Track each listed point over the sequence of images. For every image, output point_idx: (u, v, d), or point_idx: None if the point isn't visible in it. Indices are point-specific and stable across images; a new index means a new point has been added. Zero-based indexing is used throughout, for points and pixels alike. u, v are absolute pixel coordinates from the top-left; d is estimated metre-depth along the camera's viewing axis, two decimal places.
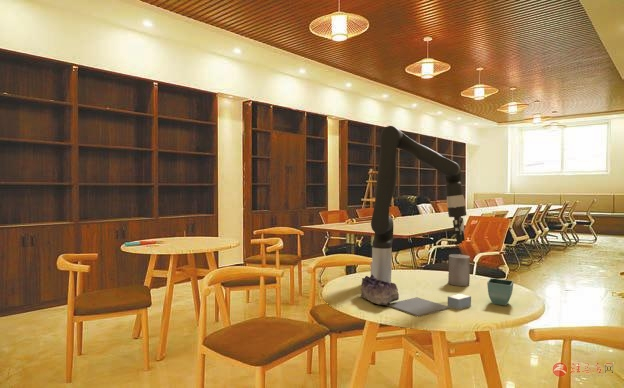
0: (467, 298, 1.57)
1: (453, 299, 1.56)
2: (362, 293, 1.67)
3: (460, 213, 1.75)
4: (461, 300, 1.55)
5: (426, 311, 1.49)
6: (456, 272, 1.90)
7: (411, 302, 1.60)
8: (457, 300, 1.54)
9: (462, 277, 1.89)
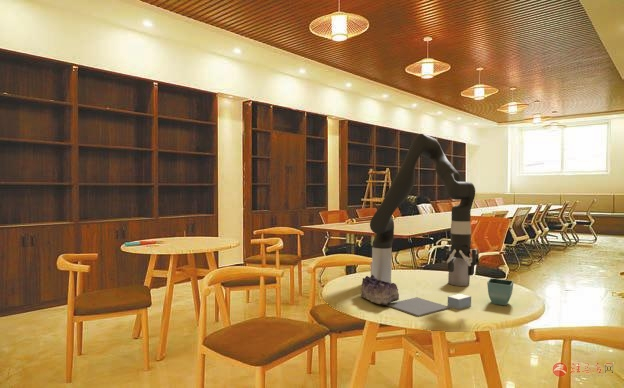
0: (467, 298, 1.57)
1: (453, 299, 1.56)
2: (362, 293, 1.67)
3: None
4: (461, 300, 1.55)
5: (426, 311, 1.49)
6: (456, 272, 1.90)
7: (411, 302, 1.60)
8: (457, 300, 1.54)
9: (462, 277, 1.89)
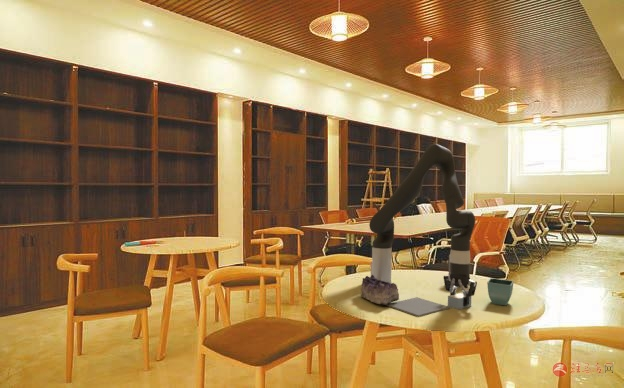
0: None
1: (453, 298, 1.56)
2: (362, 293, 1.67)
3: None
4: (461, 300, 1.55)
5: (426, 311, 1.49)
6: None
7: (411, 302, 1.60)
8: (457, 300, 1.54)
9: None
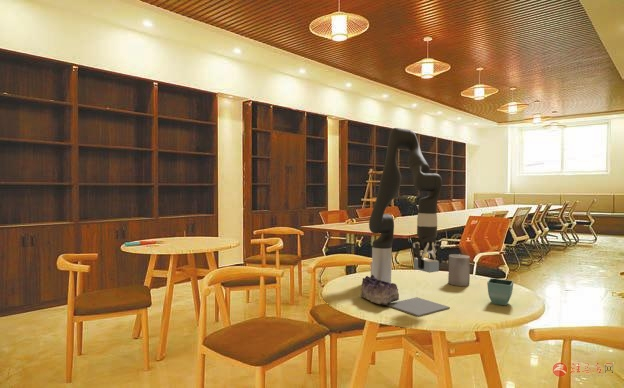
0: None
1: (434, 262, 1.53)
2: (362, 293, 1.67)
3: (424, 234, 1.53)
4: None
5: (426, 311, 1.49)
6: (456, 272, 1.90)
7: (411, 302, 1.60)
8: (437, 262, 1.54)
9: (462, 277, 1.89)
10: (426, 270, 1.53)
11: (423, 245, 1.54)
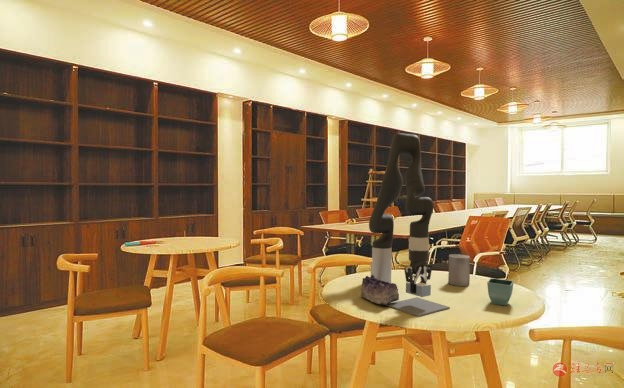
0: None
1: (426, 287, 1.53)
2: (362, 293, 1.67)
3: (416, 258, 1.53)
4: None
5: (426, 311, 1.49)
6: (456, 272, 1.90)
7: (411, 302, 1.60)
8: (429, 286, 1.54)
9: (462, 277, 1.89)
10: (419, 294, 1.53)
11: (415, 269, 1.53)
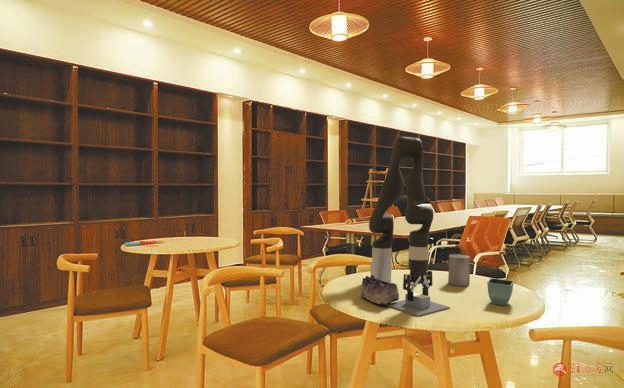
0: None
1: (426, 298, 1.53)
2: (362, 293, 1.67)
3: (416, 268, 1.53)
4: None
5: (426, 311, 1.49)
6: (456, 272, 1.90)
7: None
8: (429, 298, 1.54)
9: (462, 277, 1.89)
10: (418, 306, 1.53)
11: (415, 277, 1.54)
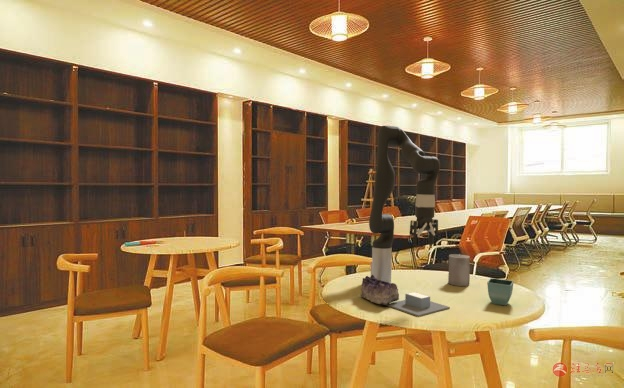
0: None
1: (426, 298, 1.53)
2: (362, 293, 1.67)
3: (422, 214, 1.60)
4: None
5: (426, 311, 1.49)
6: (456, 272, 1.90)
7: None
8: (429, 298, 1.54)
9: (462, 277, 1.89)
10: (418, 306, 1.53)
11: (421, 224, 1.61)
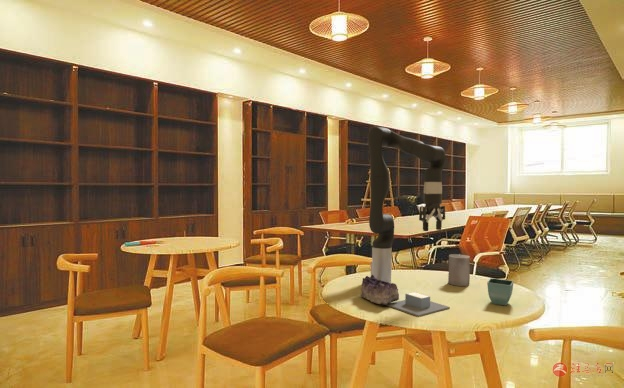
0: None
1: (426, 298, 1.53)
2: (362, 293, 1.67)
3: (431, 200, 1.69)
4: None
5: (426, 311, 1.49)
6: (456, 272, 1.90)
7: None
8: (429, 298, 1.54)
9: (462, 277, 1.89)
10: (418, 306, 1.53)
11: (430, 209, 1.70)
